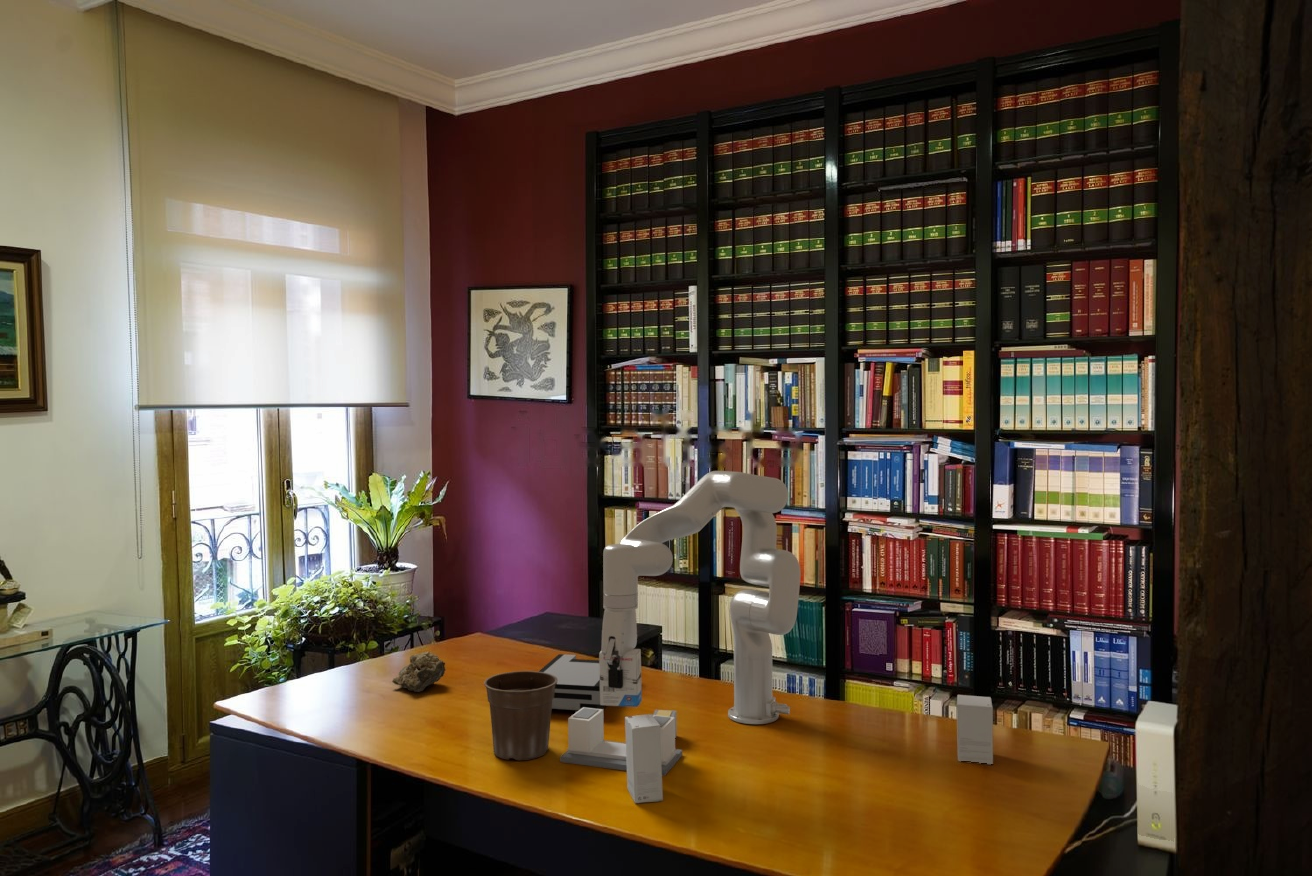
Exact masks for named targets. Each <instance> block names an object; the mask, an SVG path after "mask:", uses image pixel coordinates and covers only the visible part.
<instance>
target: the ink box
mask: <svg viewBox="0 0 1312 876" xmlns="http://www.w3.org/2000/svg"><path fill="white" fill-rule="evenodd" d="M618 653H619V652H614V655H618ZM641 653H642V652H641V648H634V649H632V650H630V651H629V652H627V653H626V654H625V655H623V657H622V666H621V669H622V670H623V687H622V688H611V687H609V686H608V664H607V661H606V660H605V656H606V655H603V654H602V650H600V652H599V653H598V660H599V666H600V705H606V707H607V706H609V707H627V708H628V707H631V708H632V707H633V708H637V707H639V706H640V704H641V702H642V699H643V697H642V696H643V695H642V656H641V655H642V654H641ZM614 659H616V661H617V663H618V658H614Z"/></svg>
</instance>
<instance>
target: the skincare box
mask: <svg viewBox="0 0 1312 876" xmlns="http://www.w3.org/2000/svg"><path fill="white" fill-rule="evenodd" d="M624 729H625V731H624V732H625V735H624V736H625V743H626V763H627V771H626V783H627V786H626V788H627V790H628V793H629V795H630V796H631V798H632V800H633V802H634V803H635V804H641V803H652V802H656V803H657V802H663V800H664V793H663V776H662V765H661V742H660V724H659V723H658V722H657V721H656V719H655V718H654V717H653V714H652V713H648V714H647V713H646V714H639V715H638V714H637V715H630V716H629V715H628V716H625V717H624Z"/></svg>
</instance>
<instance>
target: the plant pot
mask: <svg viewBox="0 0 1312 876" xmlns="http://www.w3.org/2000/svg"><path fill="white" fill-rule="evenodd" d="M557 681H558V679H557V677H556V676H554V675H552V674H549V673H544V672H538V671H535V670H534V671H533V670H520V671H519V670H518V671H515V670H514V671H509V672H507V671H506V672H503V673H502V672H501V673H497V674H494V675H492V676H490V677H488V678H486V679H485V680H484V682H483V685H484V687H485V688H486V697H487V702H488V703H489V713H490V722H491V736H492V743H493V744H492V745H493V754H494V756H496V757H498V758H500V759H502V760H510V759H513V760H515V761H526V760H527V761H529V760H535V759H538V758H540V757H542V756H544V755H545V754H546V752H548V751H549V744H550V731H551V718H552V710H553V709H552V700H553V698H554V692H555V685H556V684H557Z"/></svg>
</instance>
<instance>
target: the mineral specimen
mask: <svg viewBox="0 0 1312 876" xmlns="http://www.w3.org/2000/svg"><path fill="white" fill-rule="evenodd" d="M445 672H446V662H445V661H444V660H441V659H440V657H438V654H437V655H436V654H434V653H432V652H430V651H426V652H420V653H416V654H413V655H411V656H410V657H409V663H408V664H407V665H406V666H404V667H403V668H402V669H401V670H399V672H398V676H395V677H394V678H393V679H392V681H391V682H392V683H394V684H395V685H397V686H398V685H399V686H401V687H402V688H405V689H407V691H411V692H414V693H416V692H418V693H419V692H423V691H424V690H425V689H426V687H428V686H431V685H433V684H435V683H436V682H439V681H440V680H441V678H442V677H444V675H445Z"/></svg>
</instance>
